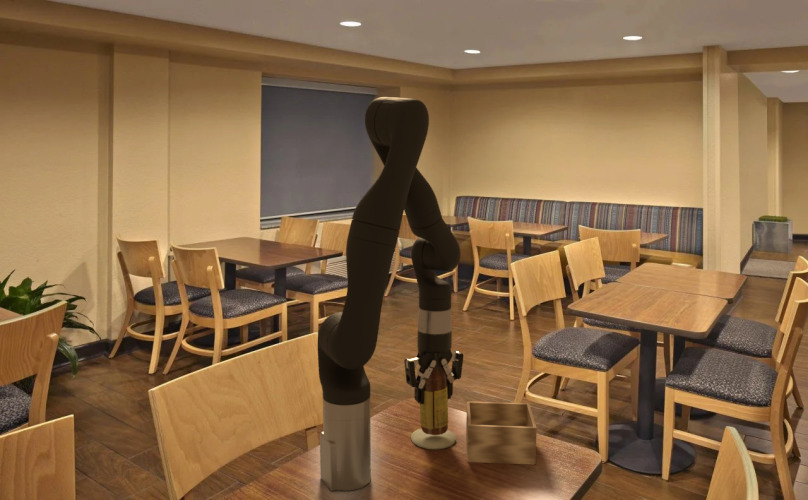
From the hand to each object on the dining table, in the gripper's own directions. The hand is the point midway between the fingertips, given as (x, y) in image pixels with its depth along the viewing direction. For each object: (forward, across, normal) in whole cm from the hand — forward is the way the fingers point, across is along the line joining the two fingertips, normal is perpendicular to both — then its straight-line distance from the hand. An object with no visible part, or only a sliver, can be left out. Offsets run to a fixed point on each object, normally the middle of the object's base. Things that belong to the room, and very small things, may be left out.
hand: (433, 400), depth 144 cm
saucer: (+9, 0, 0) cm, 9 cm away
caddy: (+9, +11, -10) cm, 17 cm away
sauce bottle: (+7, 0, 0) cm, 7 cm away
